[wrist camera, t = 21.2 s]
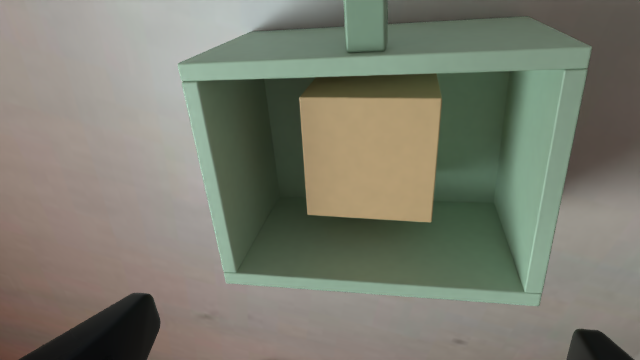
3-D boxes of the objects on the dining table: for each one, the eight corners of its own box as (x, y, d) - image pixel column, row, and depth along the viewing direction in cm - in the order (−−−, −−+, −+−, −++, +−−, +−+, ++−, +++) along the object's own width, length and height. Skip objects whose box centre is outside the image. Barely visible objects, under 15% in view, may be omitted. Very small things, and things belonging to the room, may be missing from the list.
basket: (237, -57, 18) (147, -67, 12) (543, -89, 16) (627, -120, 9) (273, 200, 24) (225, 283, 18) (503, 207, 21) (540, 307, 15)
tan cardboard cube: (435, 68, 18) (442, 97, 14) (428, 172, 20) (431, 223, 17) (321, 69, 19) (298, 96, 15) (326, 168, 21) (307, 215, 17)
